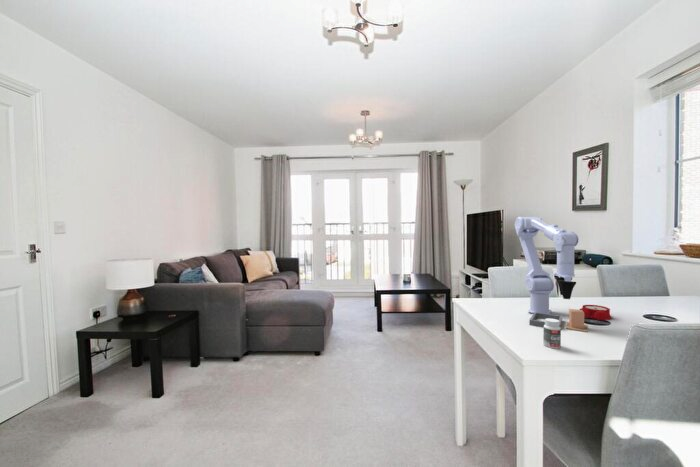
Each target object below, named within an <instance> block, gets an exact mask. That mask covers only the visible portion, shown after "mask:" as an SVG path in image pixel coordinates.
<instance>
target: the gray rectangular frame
mask: <svg viewBox="0 0 700 467" xmlns="http://www.w3.org/2000/svg"><path fill="white" fill-rule="evenodd" d="M547 318H551V319H556V320H559V321H560V325H559V327H560V328H561V329H562V324H563V315H557V314H552V313H550V314H544V313H537V312H534V313H532V315H531V316H530V318H529V326H534V327H540V328H544V325H545V319H547ZM538 319H544V321H543V320H538Z"/></svg>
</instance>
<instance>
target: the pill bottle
mask: <svg viewBox="0 0 700 467" xmlns="http://www.w3.org/2000/svg"><path fill="white" fill-rule="evenodd" d="M544 322H545V325H544V327H543V337H542V339H543V340H542V341H543V343H542V344H543V346H545V347H547V348H551V349H560V348H561V344H562V343H561V341H562V340H561V339H562V338H561V337H562V336H561V334H562V332H561V331H562V327H561V328H560V327H559V325H560V321H559V320H556V319H551V318H547V319H544Z"/></svg>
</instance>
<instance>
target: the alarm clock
mask: <svg viewBox="0 0 700 467" xmlns="http://www.w3.org/2000/svg"><path fill="white" fill-rule="evenodd" d="M578 310H582V311H583V312H584V319H588V318H589V319H591V320H592V319H594V320H597V321H599V320H602V321H601V322H604V321H606V320H609V321H610V320H611V319H612V315H611V314H610V312H611V309H610V308H609V307H607V306H602V305H599V304H597V305H596V304H583V305H582V306H581V308H579V309H578Z"/></svg>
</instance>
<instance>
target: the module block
mask: <svg viewBox="0 0 700 467" xmlns="http://www.w3.org/2000/svg"><path fill="white" fill-rule="evenodd" d="M568 310H569V311H568V312H569V313H568V314H569V316H568V318H569V320H568V322H569V325H570V326H571V327H574V328H583V329H584V325H585V318H584V312H583V311H582V310H579V309H576V308H575V309H574V308H568Z"/></svg>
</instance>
